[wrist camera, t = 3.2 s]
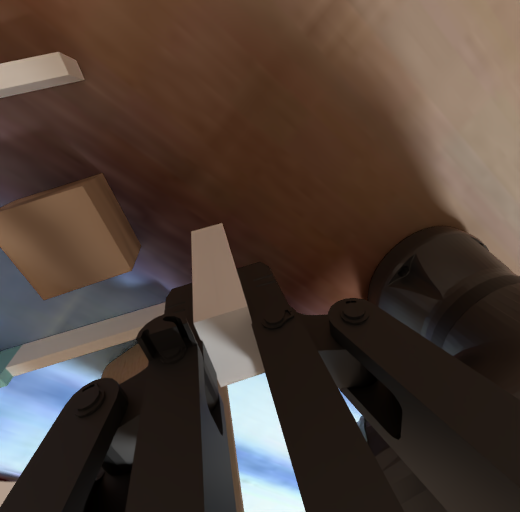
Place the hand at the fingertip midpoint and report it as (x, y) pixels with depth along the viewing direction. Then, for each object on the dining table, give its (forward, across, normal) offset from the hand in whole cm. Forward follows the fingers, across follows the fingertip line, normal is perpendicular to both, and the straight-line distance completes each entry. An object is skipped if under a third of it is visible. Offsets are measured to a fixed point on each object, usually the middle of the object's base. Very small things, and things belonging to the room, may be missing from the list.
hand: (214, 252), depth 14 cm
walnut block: (+14, +11, 0) cm, 17 cm away
